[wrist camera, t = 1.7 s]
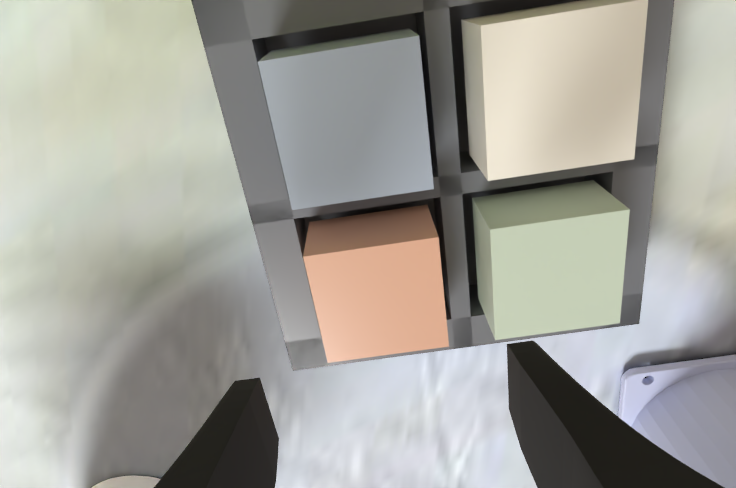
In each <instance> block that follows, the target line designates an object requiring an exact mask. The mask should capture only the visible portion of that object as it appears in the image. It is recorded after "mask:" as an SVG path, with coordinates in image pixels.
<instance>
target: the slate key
mask: <svg viewBox="0 0 736 488" xmlns="http://www.w3.org/2000/svg"><path fill="white" fill-rule="evenodd" d="M258 66H259V70H260V74H261V79H262V83H263V87H264V92H265V96H266V100H267V104H268V109H269V113H270V117H271V122H272V126H273V130H274V134H275V139H276V143H277V147H278V152H279V156H280V160H281V164H282V169H283V173H284V177H285V182H286V186H287V190H288V195H289V199H290V203H291V207H292V210H297V209H303V208H310V207H317V206H323V205H330V204H337V203H344V202H350V201H357V200H364V199H370V198H377V197H384V196H391V195H397V194H404V193H411V192H417V191H424V190H431V189H434V185H433V174H432V164H431V154H430V143H429V133H428V122H427V112H426V102H425V91H424V81H423V70H422V60H421V50H420V39H419V35H418V34H416V33H415V32H414V31H412V30H411V29H409V28H407V29H401V30H394V31H388V32H382V33H376V34H370V35H364V36H357V37H351V38H345V39H339V40H333V41H327V42H320V43H314V44H308V45H302V46H296V47H290V48H283V49H277V50H272V51H270V52H269V53H268V54H267V55H265V56H264V57H263V58H262V59H260V60H259V61H258Z"/></svg>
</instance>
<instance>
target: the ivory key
mask: <svg viewBox="0 0 736 488" xmlns="http://www.w3.org/2000/svg"><path fill="white" fill-rule="evenodd" d="M647 9H648V0H580V1H573V2H567V3H561V4H555V5H549V6H542V7H536V8H530V9H524V10H518V11H512V12H505V13H499V14H493V15H487V16H481V17H475V18H468V19H462V20H461V24H462V41H463V57H464V74H465V90H466V106H467V123H468V139H469V155H470V156H471V157H472V159H473V160H474V162H475V163H476V165H477V166H478V168H479V169H480V170H481V172H482V173H483V175H484V176H485V178H486V179H487V180H488V181H491V180H498V179H505V178H511V177H518V176H525V175H532V174H538V173H545V172H552V171H559V170H565V169H572V168H579V167H585V166H592V165H599V164H606V163H612V162H619V161H626V160H632V159H634V157H635V146H636V134H637V123H638V112H639V100H640V89H641V77H642V66H643V55H644V43H645V32H646V21H647Z"/></svg>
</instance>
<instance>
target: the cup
mask: <svg viewBox="0 0 736 488" xmlns="http://www.w3.org/2000/svg"><path fill="white" fill-rule="evenodd" d="M159 481H160V479H159V478H155V477H149V476H121V477H115V478H111V479H108V480H105V481H102V482H100V483H98V484H96V485H94V486H93V487H91V488H154V487H155V485H156V484H157V483H158V482H159Z"/></svg>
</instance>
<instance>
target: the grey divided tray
mask: <svg viewBox="0 0 736 488" xmlns="http://www.w3.org/2000/svg"><path fill="white" fill-rule="evenodd" d="M191 1H192V4H193V8H194V12H195V15H196V19H197V23H198V26H199V30H200V34H201V37H202V41H203V45H204V48H205V52H206V55H207V59H208V63H209V66H210V70H211V74H212V77H213V81H214V85H215V88H216V92H217V96H218V99H219V103H220V107H221V110H222V114H223V117H224V121H225V125H226V128H227V132H228V136H229V139H230V143H231V147H232V150H233V154H234V158H235V161H236V165H237V169H238V172H239V176H240V179H241V183H242V187H243V190H244V194H245V198H246V201H247V205H248V209H249V212H250V216H251V220H252V223H253V227H254V231H255V234H256V238H257V241H258V245H259V249H260V252H261V256H262V260H263V263H264V267H265V271H266V274H267V278H268V282H269V285H270V289H271V293H272V296H273V300H274V303H275V307H276V311H277V314H278V318H279V322H280V325H281V329H282V333H283V336H284V340H285V344H286V347H287V351H288V355H289V358H290V362H291V365H292V369H293V371H294V370H301V369H309V368H316V367H323V366H331V365H338V364H346V363H353V362H360V361H368V360H375V359H382V358H390V357H397V356H404V355H412V354H419V353H427V352H434V351H441V350H449V349H456V348H463V347H471V346H478V345H486V344H493V343H500V342H508V341H515V340H522V339H530V338H537V337H544V336H552V335H559V334H567V333H574V332H581V331H589V330H596V329H603V328H611V327H618V326H625V325H633V324H639V319H640V310H641V301H642V292H643V283H644V273H645V264H646V255H647V246H648V237H649V227H650V218H651V209H652V200H653V191H654V181H655V172H656V163H657V154H658V145H659V135H660V126H661V117H662V108H663V99H664V89H665V80H666V71H667V62H668V53H669V43H670V34H671V25H672V16H673V7H674V0H648V9H647V21H646V32H645V43H644V55H643V66H642V77H641V89H640V100H639V112H638V123H637V134H636V146H635V157H634V159H632V160H626V161H619V162H612V163H606V164H599V165H592V166H585V167H579V168H572V169H565V170H559V171H552V172H545V173H538V174H532V175H525V176H518V177H511V178H505V179H498V180H491V181H488V180H487V179H486V178H485V176H484V175H483V173H482V172H481V170H480V169H479V168H478V166H477V165H476V163H475V162H474V160H473V159H472V157H471V156H470V155H469V139H468V123H467V106H466V90H465V74H464V57H463V41H462V24H461V20H462V19H468V18H475V17H481V16H487V15H493V14H499V13H505V12H512V11H518V10H524V9H530V8H536V7H542V6H549V5H555V4H561V3H567V2H573V1H580V0H191ZM407 28H409V29H411V30H412V31H414V32H415V33H416V34H418V35H419V39H420V50H421V60H422V70H423V81H424V91H425V102H426V112H427V122H428V133H429V143H430V154H431V164H432V174H433V185H434V189H431V190H424V191H417V192H411V193H404V194H397V195H391V196H384V197H377V198H370V199H364V200H357V201H350V202H344V203H337V204H330V205H323V206H317V207H310V208H303V209H297V210H292V207H291V203H290V199H289V195H288V190H287V186H286V182H285V177H284V173H283V169H282V164H281V160H280V156H279V152H278V147H277V143H276V139H275V134H274V130H273V126H272V122H271V117H270V113H269V109H268V104H267V100H266V96H265V92H264V87H263V83H262V79H261V74H260V70H259V66H258V61H259V60H260V59H262V58H263V57H264V56H265V55H267V54H268V53H269V52H270V51H272V50H277V49H283V48H290V47H296V46H302V45H308V44H314V43H320V42H327V41H333V40H339V39H345V38H351V37H357V36H364V35H370V34H376V33H382V32H388V31H394V30H401V29H407ZM590 180H594V181H595V182H596V183H598V184H599V185H600V186H601V187H603V188H604V189H605V190H606V191H608V192H609V193H610V194H611V195H613V196H614V197H615V198H616V199H618V200H619V201H620V202H621V203H623V204H624V205H625V206H626V207H627V208H629V209H630V214H629V225H628V236H627V248H626V259H625V270H624V282H623V293H622V304H621V316H620V323H618V324H611V325H604V326H596V327H589V328H581V329H574V330H567V331H559V332H552V333H545V334H537V335H530V336H523V337H515V338H508V339H501V340H495V339H494V336H493V334H492V331H491V329H490V326H489V324H488V321H487V319H486V316H485V314H484V311H483V309H482V306H481V304H480V301H479V299H478V286H477V270H476V254H475V237H474V221H473V204H472V198H475V197H481V196H488V195H495V194H502V193H509V192H515V191H522V190H529V189H536V188H542V187H549V186H556V185H563V184H569V183H576V182H583V181H590ZM421 205H428V208H429V211H430V214H431V217H432V220H433V223H434V225H435V228H436V231H437V234H438V237H439V247H440V257H441V268H442V278H443V289H444V299H445V309H446V320H447V330H448V341H449V347H442V348H434V349H427V350H420V351H412V352H405V353H398V354H390V355H383V356H376V357H368V358H361V359H354V360H346V361H339V362H331V363H328V362H327V358H326V353H325V349H324V345H323V340H322V336H321V332H320V328H319V323H318V319H317V315H316V310H315V306H314V302H313V297H312V293H311V289H310V285H309V280H308V276H307V272H306V267H305V263H304V259H303V254H304V249H305V243H306V238H307V232H308V226H309V222H312V221H319V220H326V219H332V218H339V217H346V216H353V215H360V214H366V213H373V212H380V211H387V210H393V209H400V208H407V207H414V206H421Z"/></svg>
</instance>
